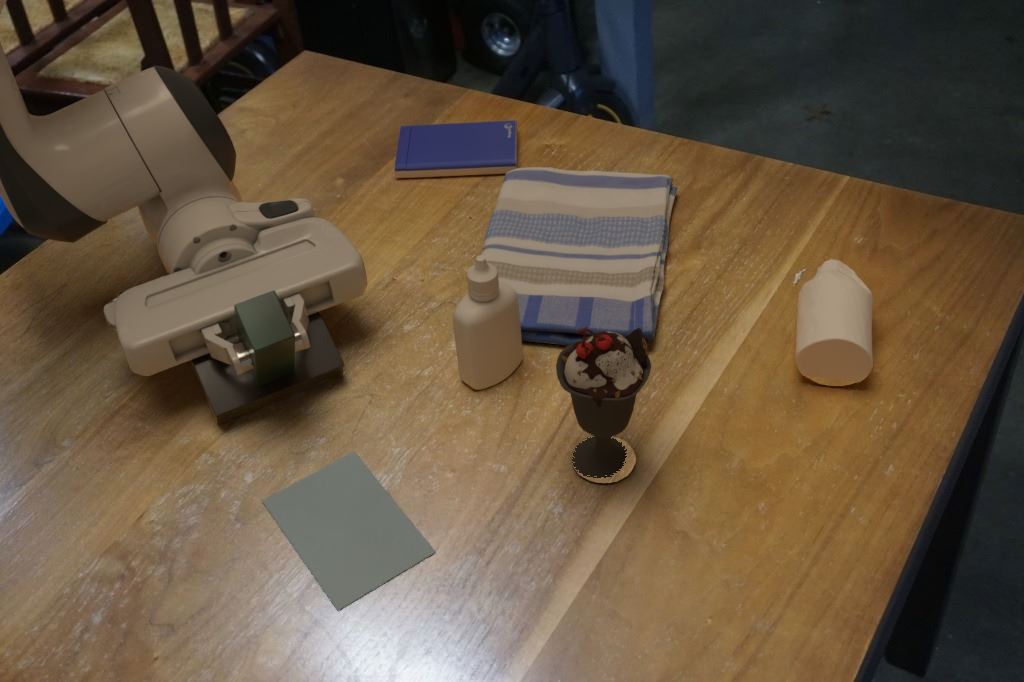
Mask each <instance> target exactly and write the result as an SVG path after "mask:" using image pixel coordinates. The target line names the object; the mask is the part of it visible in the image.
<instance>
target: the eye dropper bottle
mask: <svg viewBox="0 0 1024 682" xmlns="http://www.w3.org/2000/svg"><path fill="white" fill-rule="evenodd" d="M466 281H467V291H468V292H466V293H465V295H463V297H462V298H461V299H460V301H459V302H458V303H457V305H456V307H455V309H454V310H453V313H452V324H453V325H452V326H453V334H454V341H455V350H456V358H457V365H458V373H459V379H461V381H462V382H464V383H465V384H466V385H467V386H469V387H470V388H471V389H473V390H479V391H481V390H485V389H488V388H490V387H492V386H495V385H497V384H499V383H501V382H503V381H504V380H506V379H507V378H508V377H510V376H511V375H512V374H513V373H514V372H515V371H516V369H518V367H519V366H520V364H521V363H522V361H523V355H524V354H523V341H522V338H521V325H520V312H519V302H518V295H517V293H516V291H515V290H514V289H513V288H512V287H510V286H509V285H507V284H505V283H503V282H499V279H498V270H497V268H496V267H495V266H494V265H492V264H489V263H487V261H486V258H485V256H483V255H481V254H480V255H477V256H476V257H475V263H474V264H473V265H471V266H470V267H468V269H467V271H466Z"/></svg>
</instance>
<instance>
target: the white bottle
mask: <svg viewBox="0 0 1024 682" xmlns="http://www.w3.org/2000/svg"><path fill="white" fill-rule="evenodd" d="M873 308H874V296H873V293H872V291H871V289H869V288H868V286H867V285H866V284H865V282H863V281H862V279H861V278H860V277H859V276H858V275H857V273H856V272H855V270H853V269H852V268H851V267H849V266H848V265H847V264H845V263H844V262H842V261H841V260H839V259H835V258H834V259H833V258H831V259H829V260H825V261H824V262H823V263H822V264H821V265H820V266H818V268H817V269H816V273H815V275H814V276H813V277H812V278H811V279H809V280H808V281H806V282H804V284H803V285H802V287H801V288H800V291H799V292H798V298H797V309H796V322H795V354H794V363H795V366H796V368H797V370H798V371H799V373H800V374H801V376H803V377H804V376H810V377H821V378H826V379H838V380H839V379H840V380H844V381H854V382H859V383H861V382H862V381H864V380H865V379H866V378H868V376H869V375H871V372H872V369H873V368H874V367H873V366H874V356H873V312H874V309H873Z"/></svg>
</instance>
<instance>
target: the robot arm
mask: <svg viewBox="0 0 1024 682" xmlns="http://www.w3.org/2000/svg"><path fill="white" fill-rule="evenodd" d="M7 1H8V0H0V15H1V13H2V11H3V8H5V5H6V3H7ZM236 167H237V151H236V149H235V146H234V143H233V140H232V138H231V136H230V133H229V132H228V130H227V128H226V127H225V125H224V123H223V122H222V120H221V118H220V117H219V115H218V114H217V112H216V111H215V110H214V108H213V107H212V105H211V104H210V103H209V101H208V99H207V97H206V95H205V94H204V93H203V91H202V89H201V88H200V86H199V85H198V84H197V82H195V80H194V79H193V78H191V77H189V76H187V75H185V74H183V73H181V72H180V71H177V70H174V69H172V68H169V67H165V66H161V65H154V66H151V67H149V68H146V69H144V70H141V71H138V72H136V73H134V74H132V75H130V76H127V77H126V78H123V79H121V80H119V81H117V82H114V83H112V84H110V85H108V86H105V87H104V89H102V90H100V91H97V92H95V93H93V94H91V95H89V96H86V97H85V98H82V99H80V100H77V101H76V102H73V103H72V104H69V105H67V106H65V107H63V108H61V109H58V110H57V111H54V112H51V113H50V114H46V115H35V114H34V115H33V114H31V113H29V111H28V108H27V105H26V103H25V101H24V98H23V95H22V93H21V91H20V88H19V85H18V84H17V81H16V78H15V76H14V74H13V70H12V68H11V65H10V64H9V61H8V57H7V55H6V53H5V51H4V48H3V45H2V44H1V42H0V198H1V200H2V201H3V204H4V206H5V207H6V209H7V211H8V212H9V214H10V215H11V216H12V218H13V219H14V220H15V221H16V222H17V224H19V225H20V227H22V228H23V229H24V230H25V232H26V233H27V234H29V235H32V236H35V237H37V238H41V239H46V240H49V241H55V242H62V243H71V244H74V243H76V242H78V241H79V240H82V238H84V237H86V236H87V235H90V234H91V233H93V232H94V231H95V230H97V229H100V228H101V227H103V226H105V225H106V224H107V223H108V221H110V220H112V219H113V218H116V217H118V216H120V215H122V214H123V213H127V212H128V211H131V210H132V209H134V208H136V207H137V210H138V213H139V215H140V219H141V221H142V224H143V225H144V228H145V231H146V233H147V234H148V236H149V238H150V239H151V241H152V242H153V243H154V244H155V245H156V246H157V253H158V255H159V259H160V261H161V263H162V265H163V266H164V269H165V271H166V273H167V274H165V275H161V276H160V277H156V278H153V279H151V280H148V281H147V282H143V283H141V284H138V285H136V286H135V285H134V286H132V287H128V288H125V289H122V290H120V291H119V292H117V293H116V297H115V298H113V299H111V300H110V301H108V302H107V304H105V305H104V306H103V316H104V319H105V322H106V324H107V326H108V327H109V328H110V329H112V330H113V331H115V332H116V333H117V337H118V340H119V344H120V346H121V349H122V351H123V354H124V356H125V359H126V361H127V363H128V366H129V369H130V370H131V372H132V373H134V374H136V375H139V376H143V377H149V376H153V375H155V374H158V373H160V372H164V371H166V370H169V369H171V368H173V367H177V366H179V365H182V364H185V363H187V362H190V360H193V359H195V358H198V357H200V356H203V355H206V354H208V353H210V355H211V357H212V358H214V359H217V360H219V361H222V362H224V363H227V364H229V365H230V364H231V365H232V367H233V369H234V371H235V373H236V374H237V376H238V375H240V374H243V373H246V372H248V371H250V370H253V369H255V368H254V364H253V363H252V362H253V361H252V358H251V355H250V353H249V351H248V349H247V348H246V345H245V343H244V342H240V343H237V342H239V341H238V333H237V325H236V317H235V310H234V305H235V304H238V303H241V302H243V301H246V300H249V299H252V298H254V297H257V296H260V295H262V294H265V293H268V292H271V291H273V290H274V291H275V292H276V294H277V297H278V299H279V301H280V303H281V305H282V308H283V310H284V312H285V314H286V317H287V319H288V321H289V323H290V322H291V323H290V325H291V328H292V330H293V332H294V334H295V353H297V352H299V351H302V350H305V349H307V348H310V343H309V339H308V335H307V333H306V330H307V326H308V323H309V318H308V316H309V315H311V314H314V313H317V312H319V311H320V312H322V311H324V310H327V309H330V308H332V307H335V306H337V305H340V304H343V303H346V302H348V301H350V300H354V299H357V298H359V297H361V296H363V295H364V293H365V292H366V289H367V286H368V277H367V270H366V266H365V262H364V259H363V257H362V254H361V253H360V251H359V250H358V248H357V247H356V246H355V244H354V243H353V242H352V241H351V240H350V239H349V238H348V236H346V234H345V233H344V232H342V230H340V229H339V227H338V226H336V224H334V223H333V222H331V221H329V220H328V219H325V218H322V217H317V216H316V213H315V210H314V208H313V206H312V203H311V202H310V201H309V200H308V199H306V198H304V197H296V198H295V197H294V198H287V199H281V200H273V201H257V202H249V201H243V198H242V194H241V192H240V191H239V189H238V187H237V186H236V184H235V183H234V181H233V180H234V177H235V173H236ZM235 343H237V344H235Z"/></svg>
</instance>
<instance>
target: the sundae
mask: <svg viewBox="0 0 1024 682" xmlns="http://www.w3.org/2000/svg"><path fill="white" fill-rule="evenodd" d="M586 331H589V332H591V333H592V334H594V335H593V336H589V337H586V333H585V332H586ZM577 332H578V333H579V334H584V337H583V339H582V340H579V341H577V342H575V343H573V344H570V345H566V346H565V347H564V348H563V349H562V350H561V351H560V352H559V355H558V356H557V360H556V364H555V369H556V376H557V380H558V382H559V384H560V387H561V388H562V389H563V390H564V391H565V392H567V393H568V394H570V398H571V402H572V407H573V412H574V413H573V414H574V415H575V418H576V421H577V424H578V426H579V427H580V428H581V430H582V431H584V432H585V433H587V434H589V435H590V436H593V435H594V437H592V438H591V437H590V436H589V437H590V438H588V437H586V438H587V440H585V441H582V440H581V441H582V443H580V442H578V444H579V445H578V444H576V445H575V447H574V448H575V451H576V452H575V451H574V453H573V452H572V453H573V456H574V457H575V458H574V457H572V458H573V459H572V461H573V462H575V463H573V462H571V464H572V463H573V466H574V467H576V468H575V469H576V470H579V473H582V474H583V476H587V475H590V476H587V477H593V478H601V477H604V478H606V477H612V476H610V475H614V474H613V473H617V472H616V471H620V470H619V469H621V468H622V466H624V465H623V464H624V463H623V462H624V461H625V458H626V457H627V456H625V455H626V454H627V453H625V452H626V451H627V449H626V450H624V449H625V446H623V447H622V442H621V443H620V442H618V441H617V440H616V439H614V438H612V439H611V437H612V436H617V435H619V434H621V433H622V432H624V431H625V430H626V428H627V427H628V426H629V424H630V421H631V418H632V416H633V412H634V408H635V405H636V404H635V403H636V400H637V394H639V392H640V391H641V390H642V388H643V387H644V386H645V384H646V383H647V382H648V380H649V377H650V374H651V370H652V363H651V360H650V359H651V358H650V356H649V349H648V344H647V345H646V342H645V339H644V337H643V334H642V330H641V329H640V328H637V329H635V330H634V331H633V332H631V333H630V334H629V335H627V336H626V337H623V336H622V335H620V334H618V333H616V332H610V331H603V332H599V333H597V334H596V333H594V332H593V331H591V330H589V329H587V326H586V327H585V328H583V329H580V330H577ZM576 447H577V448H576ZM625 463H626V462H625ZM573 466H572V467H573ZM577 472H578V471H577ZM605 475H607V476H605ZM594 476H597V477H594Z"/></svg>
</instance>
